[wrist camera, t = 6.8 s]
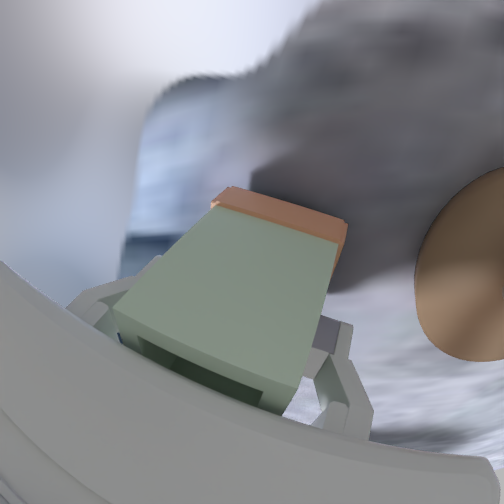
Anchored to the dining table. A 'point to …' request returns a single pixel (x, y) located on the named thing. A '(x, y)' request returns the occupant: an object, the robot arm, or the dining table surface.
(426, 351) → the dining table surface
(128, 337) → the sleeve
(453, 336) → the pin base
